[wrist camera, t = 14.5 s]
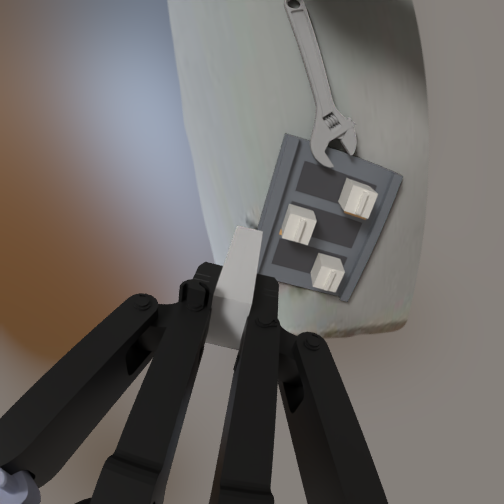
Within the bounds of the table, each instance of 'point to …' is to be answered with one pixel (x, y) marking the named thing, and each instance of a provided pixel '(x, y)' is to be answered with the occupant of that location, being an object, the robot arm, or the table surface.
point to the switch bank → (322, 214)
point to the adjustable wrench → (320, 90)
